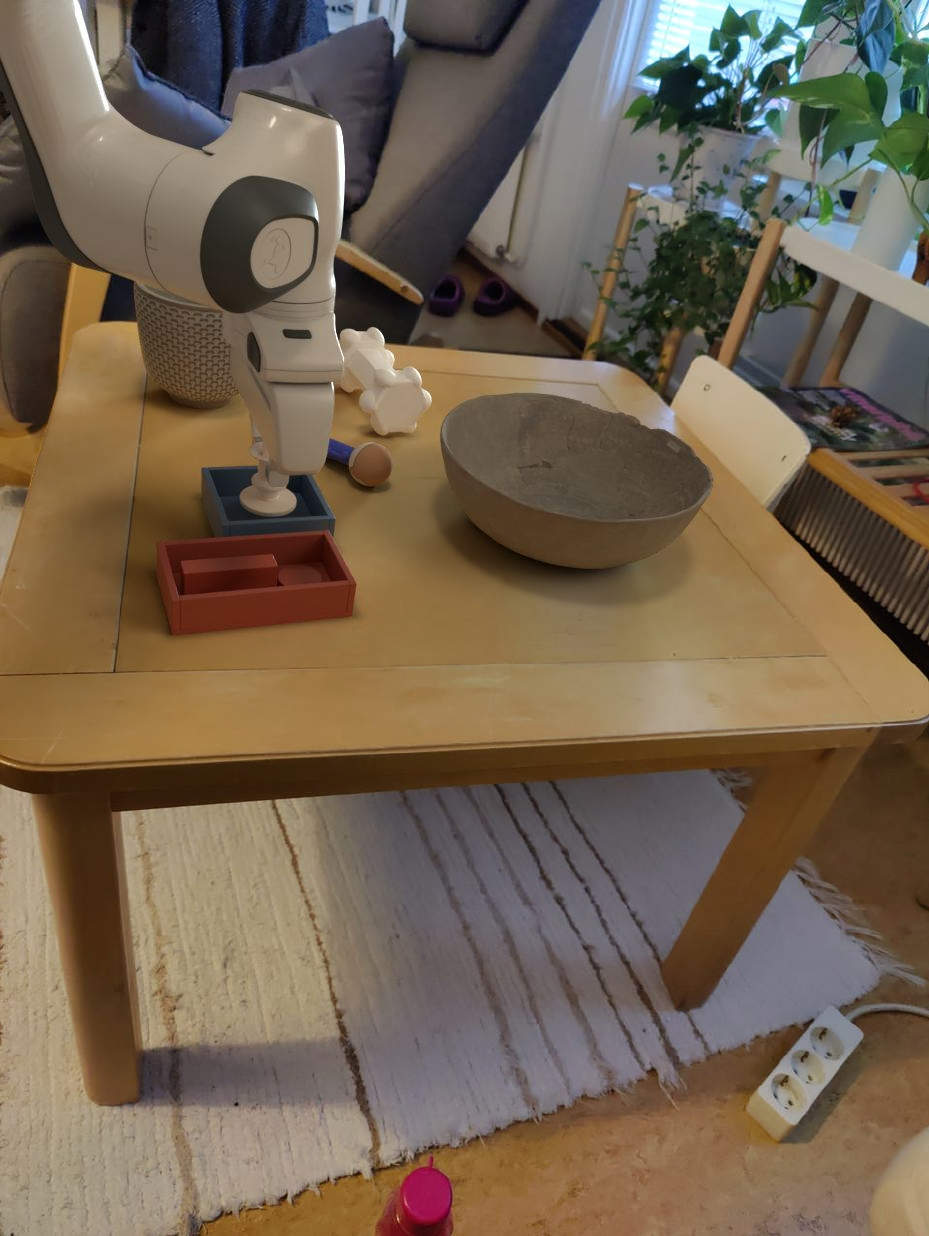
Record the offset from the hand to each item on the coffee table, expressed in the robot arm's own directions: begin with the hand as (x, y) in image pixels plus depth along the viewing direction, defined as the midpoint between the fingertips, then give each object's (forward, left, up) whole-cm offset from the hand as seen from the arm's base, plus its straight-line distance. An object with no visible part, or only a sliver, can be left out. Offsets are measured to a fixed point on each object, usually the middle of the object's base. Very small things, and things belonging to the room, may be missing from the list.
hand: (269, 468), depth 80 cm
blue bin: (0, 0, -6) cm, 6 cm away
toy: (+10, +11, -6) cm, 16 cm away
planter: (-1, +28, -6) cm, 29 cm away
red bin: (-4, -11, -6) cm, 13 cm away
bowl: (+30, -4, -6) cm, 31 cm away
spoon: (-4, -11, -6) cm, 13 cm away
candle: (0, 0, -4) cm, 4 cm away
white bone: (+19, +24, -6) cm, 31 cm away
